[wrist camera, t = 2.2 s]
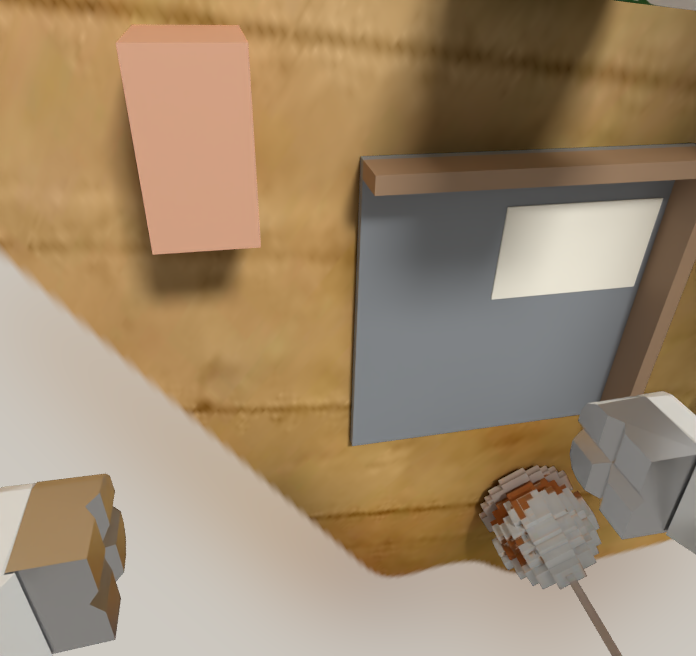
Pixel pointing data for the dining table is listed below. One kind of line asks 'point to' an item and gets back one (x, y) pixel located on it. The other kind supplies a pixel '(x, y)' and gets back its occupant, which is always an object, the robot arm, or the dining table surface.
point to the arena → (514, 283)
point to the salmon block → (192, 134)
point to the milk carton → (667, 3)
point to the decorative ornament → (545, 532)
